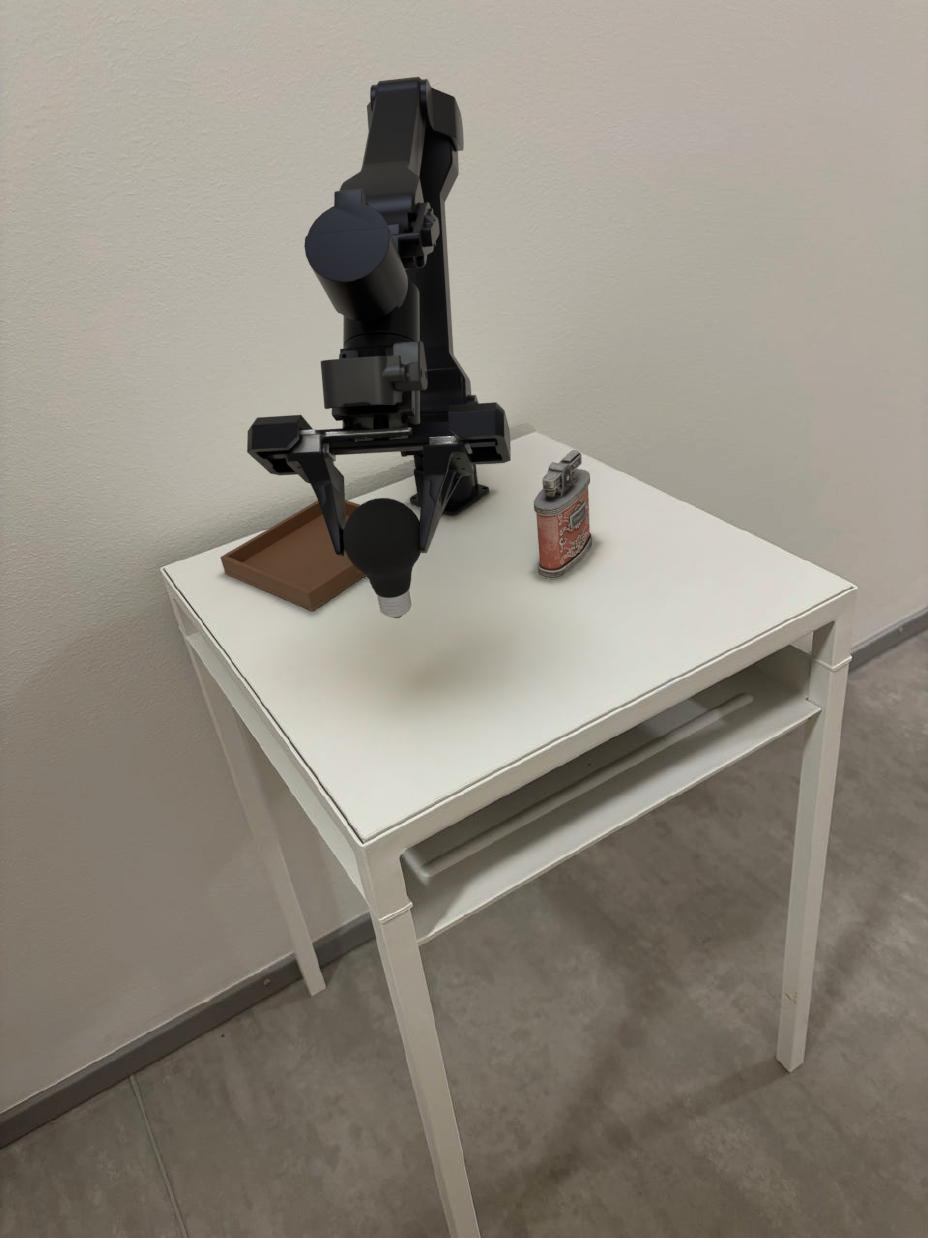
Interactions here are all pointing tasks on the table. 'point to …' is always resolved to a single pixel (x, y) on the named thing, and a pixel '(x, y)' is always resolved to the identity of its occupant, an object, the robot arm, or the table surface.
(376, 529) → the light bulb
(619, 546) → the table surface
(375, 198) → the robot arm
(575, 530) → the lighter
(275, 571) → the tray
